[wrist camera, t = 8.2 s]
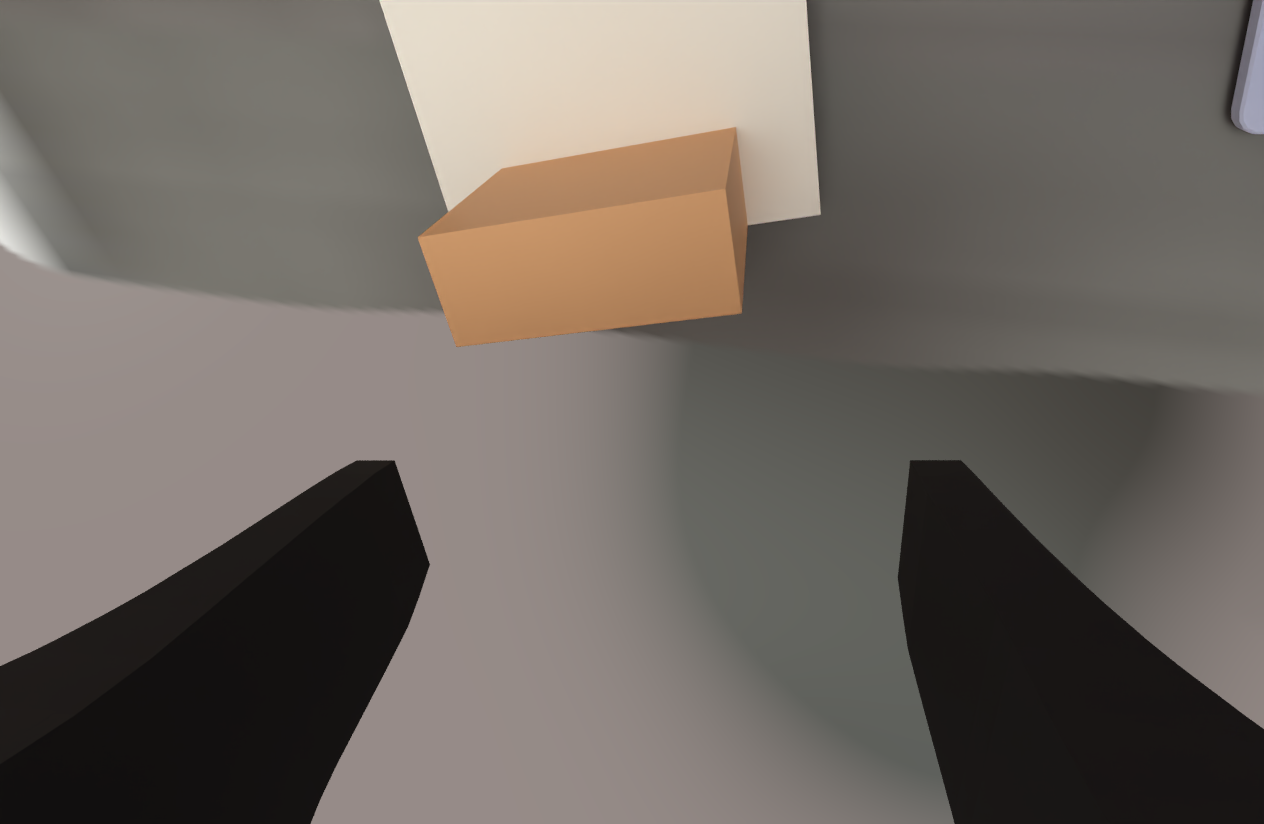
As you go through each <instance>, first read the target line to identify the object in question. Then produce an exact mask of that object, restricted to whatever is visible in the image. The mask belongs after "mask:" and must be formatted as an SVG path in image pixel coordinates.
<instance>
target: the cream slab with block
mask: <svg viewBox="0 0 1264 824" xmlns="http://www.w3.org/2000/svg"><path fill="white" fill-rule="evenodd" d="M380 3H381V7H382V10H383V13H384V16H385V19H386V22H387V25H388V28H389V31H390V34H391V37H392V40H393V43H394V46H395V49H396V53H397V56H398V59H399V62H400V65H401V68H402V71H403V74H404V77H405V80H406V83H407V86H408V89H409V92H410V95H411V99H412V102H413V105H414V108H415V111H416V114H417V117H418V120H419V123H420V126H421V129H422V132H423V135H424V138H425V141H426V145H427V148H428V151H429V154H430V157H431V160H432V163H433V166H434V169H435V172H436V175H437V178H438V181H439V184H440V188H441V191H442V194H443V197H444V200H445V203H446V206H447V209H448V213H447V214H445V215H444V216H443V217H442V218H441V219H439V220H438V221H437V222H436V223H435V224H433V225H432V226H431V227H430V228H428V229H427V230H426V231H425V232H424V233H422V234H421V235H420V236H419V237H418V240H419V243H420V245H421V248H422V251H423V254H424V257H425V260H426V262H427V265H428V268H429V271H430V274H431V277H432V279H433V282H434V285H435V288H436V291H437V294H438V296H439V299H440V302H441V305H442V308H443V310H444V313H445V316H446V319H447V321H448V324H449V327H450V330H451V333H452V336H453V339H454V341H455V344H456V347H461V346H469V345H477V344H485V343H495V342H502V341H512V340H519V339H529V338H537V337H546V336H554V335H563V334H570V333H580V332H588V331H597V330H605V329H614V328H622V327H631V326H639V325H648V324H656V323H665V322H673V321H682V320H690V319H699V318H707V317H716V316H724V315H733V314H741V313H742V303H743V288H744V273H745V259H746V244H747V229H748V225H753V224H760V223H767V222H774V221H781V220H788V219H794V218H801V217H808V216H815V215H821V212H820V197H819V182H818V167H817V153H816V138H815V123H814V108H813V94H812V79H811V64H810V49H809V35H808V20H807V5H806V0H380Z"/></svg>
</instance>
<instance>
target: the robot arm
mask: <svg viewBox="0 0 1264 824" xmlns="http://www.w3.org/2000/svg"><path fill="white" fill-rule="evenodd" d="M1231 119H1232V121H1233V123H1234V124H1235V126H1236V127H1238V128H1240V129H1242V130H1243V131H1246V132H1249V133H1251V134H1264V0H1253V4H1252V9H1251V14H1250V19H1249V24H1248V29H1247V33H1246V38H1245V43H1244V48H1243V53H1242V58H1241V63H1240V68H1239V73H1238V78H1237V83H1236V88H1235V93H1234V98H1233V103H1232V107H1231ZM429 565H430V564H429V561H428V558H427V555H426V552H425V549H424V546H423V543H422V540H421V537H420V534H419V532H418V528H417V525H416V522H415V520H414V516H413V514H412V511H411V508H410V505H409V502H408V499H407V496H406V493H405V490H404V487H403V484H402V481H401V478H400V475H399V472H398V470H397V467H396V464H395V461H355V462H353V463H352V464H350V465H348V466H346V467H344V468H342V469H340V470H339V471H337V472H335V473H333V474H332V475H330V476H328V477H327V478H325V479H324V480H322V481H320V482H319V483H317V484H316V485H314V486H312V487H311V488H309V489H308V490H306V491H305V492H303V493H301V494H300V495H298V496H297V497H295V498H294V499H292V500H291V501H289V502H287V503H286V504H284V505H283V506H281V507H280V508H278V509H277V510H275V511H274V512H272V513H271V514H269V515H268V516H266V517H264V518H263V519H262V520H260V521H258V522H257V523H255V524H254V525H252V526H251V527H249V528H247V529H246V530H244V531H243V532H241V533H240V534H239V535H237V536H235V537H234V538H232V539H230V540H229V541H227V542H226V543H224V544H223V545H221V546H220V547H218V548H216V549H215V550H213V551H211V552H210V553H208V554H206V555H205V556H203V557H202V558H200V559H198V560H197V561H195V562H193V563H192V564H190V565H188V566H187V567H185V568H183V569H182V570H180V571H178V572H177V573H175V574H174V575H172V576H170V577H169V578H167V579H165V580H164V581H162V582H160V583H159V584H157V585H155V586H154V587H152V588H151V589H149V590H147V591H145V592H144V593H142V594H140V595H138V596H137V597H135V598H133V599H132V600H130V601H128V602H126V603H124V604H123V605H121V606H119V607H117V608H115V609H114V610H112V611H110V612H108V613H106V614H104V615H103V616H101V617H99V618H97V619H95V620H93V621H91V622H89V623H88V624H85V625H83V626H81V627H80V628H78V629H76V630H74V631H72V632H70V633H68V634H66V635H64V636H62V637H61V638H58V639H57V640H55V641H53V642H51V643H49V644H47V645H45V646H43V647H41V648H38V649H36V650H35V651H32V652H30V653H28V654H26V655H24V656H21V657H19V658H17V659H15V660H13V661H11V662H8V663H6V664H4V665H2V666H0V824H311V821H312V818H313V816H314V813H315V811H316V808H317V806H318V804H319V801H320V799H321V797H322V795H323V792H324V790H325V788H326V786H327V784H328V782H329V780H330V778H331V776H332V773H333V771H334V769H335V767H336V765H337V763H338V761H339V759H340V757H341V755H342V753H343V752H344V750H345V748H346V746H347V744H348V742H349V740H350V738H351V736H352V734H353V732H354V730H355V728H356V727H357V725H358V723H359V721H360V719H361V717H362V715H363V713H364V711H365V709H366V707H367V706H368V704H369V702H370V700H371V698H372V696H373V694H374V692H375V690H376V688H377V686H378V684H379V682H380V681H381V679H382V677H383V675H384V673H385V671H386V669H387V667H388V665H389V663H390V661H391V659H392V657H393V655H394V653H395V651H396V649H397V647H398V645H399V643H400V641H401V639H402V637H403V635H404V633H405V631H406V629H407V627H408V625H409V622H410V620H411V617H412V614H413V612H414V609H415V606H416V603H417V601H418V598H419V595H420V592H421V589H422V586H423V583H424V580H425V577H426V574H427V571H428V568H429ZM898 582H899V590H900V597H901V605H902V612H903V619H904V626H905V633H906V639H907V646H908V651H909V655H910V659H911V662H912V666H913V670H914V674H915V677H916V681H917V685H918V688H919V693H920V697H921V700H922V704H923V708H924V711H925V715H926V719H927V723H928V726H929V730H930V734H931V737H932V741H933V745H934V749H935V752H936V756H937V759H938V763H939V767H940V771H941V774H942V778H943V782H944V785H945V789H946V793H947V797H948V800H949V804H950V808H951V811H952V815H953V819H954V823H955V824H1264V729H1263V728H1261V727H1260V726H1259V725H1257V724H1256V723H1254V722H1253V721H1252V720H1250V719H1249V718H1247V717H1246V716H1245V715H1243V714H1242V713H1241V712H1239V711H1238V710H1237V709H1235V708H1234V707H1233V706H1231V705H1230V704H1229V703H1228V702H1226V701H1225V700H1224V699H1222V698H1221V697H1220V696H1218V695H1217V694H1216V693H1214V692H1213V691H1212V690H1210V689H1209V688H1208V687H1206V686H1205V685H1204V684H1202V683H1201V682H1200V681H1198V680H1197V679H1196V678H1194V677H1193V676H1192V675H1190V674H1189V673H1188V672H1186V671H1185V670H1184V669H1183V668H1181V667H1180V666H1179V665H1177V664H1176V663H1175V662H1174V661H1172V660H1171V659H1170V658H1169V657H1167V656H1166V655H1165V654H1164V653H1162V652H1161V651H1160V650H1159V649H1157V648H1156V647H1155V646H1154V645H1153V644H1151V643H1150V642H1149V641H1148V640H1146V639H1145V638H1144V637H1143V636H1142V635H1141V634H1140V633H1138V632H1137V631H1136V630H1135V629H1134V628H1133V627H1131V626H1130V625H1129V624H1128V623H1127V622H1126V621H1124V620H1123V619H1122V618H1121V617H1120V616H1119V615H1117V614H1116V613H1115V612H1114V611H1113V610H1112V609H1111V608H1109V607H1108V606H1107V605H1106V604H1105V603H1104V602H1102V601H1101V600H1100V599H1099V598H1098V597H1097V596H1096V595H1095V594H1094V593H1093V592H1091V591H1090V590H1089V589H1088V588H1087V587H1086V586H1085V585H1084V584H1083V583H1082V582H1081V581H1080V580H1078V578H1077V577H1076V576H1074V575H1073V574H1072V573H1071V572H1070V571H1069V570H1068V569H1067V568H1066V567H1065V566H1064V565H1063V564H1062V563H1061V562H1060V561H1059V560H1058V559H1057V558H1056V557H1055V556H1054V555H1053V554H1051V553H1050V552H1049V551H1048V550H1047V549H1046V548H1045V547H1044V546H1043V545H1042V544H1041V543H1040V542H1039V541H1038V540H1037V539H1036V538H1035V537H1034V536H1033V535H1032V534H1031V533H1030V532H1029V531H1028V530H1027V529H1026V528H1025V527H1024V526H1023V524H1022V523H1021V522H1020V521H1019V520H1018V519H1017V518H1016V517H1015V516H1014V515H1013V514H1012V513H1011V512H1010V511H1009V510H1008V509H1007V508H1006V507H1005V506H1004V505H1003V504H1002V503H1001V502H1000V501H999V500H998V498H997V497H996V496H995V495H994V494H993V493H992V492H991V491H990V490H989V489H988V488H987V487H986V486H985V485H984V484H983V482H982V481H981V480H980V479H979V478H978V477H977V476H976V475H975V474H974V473H973V472H972V471H971V470H970V469H969V468H968V467H967V466H966V465H965V464H964V463H963V462H962V461H959V460H952V461H951V460H948V461H944V460H943V461H940V460H938V461H937V460H932V461H931V460H928V461H927V460H926V461H925V460H922V461H920V460H915V461H913V460H912V461H910V469H909V478H908V487H907V496H906V506H905V515H904V525H903V534H902V543H901V553H900V562H899V572H898Z"/></svg>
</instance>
